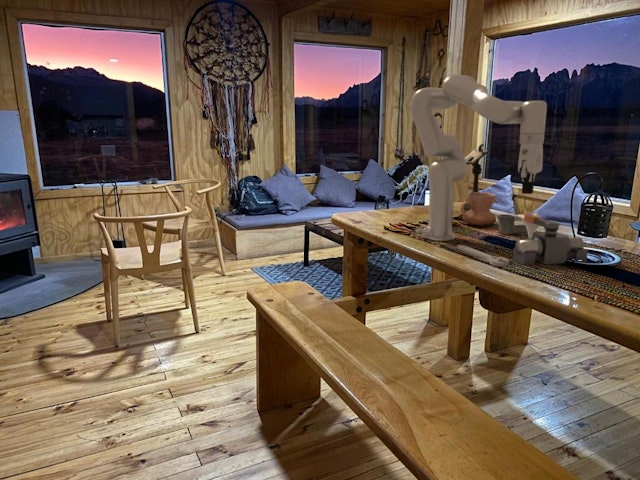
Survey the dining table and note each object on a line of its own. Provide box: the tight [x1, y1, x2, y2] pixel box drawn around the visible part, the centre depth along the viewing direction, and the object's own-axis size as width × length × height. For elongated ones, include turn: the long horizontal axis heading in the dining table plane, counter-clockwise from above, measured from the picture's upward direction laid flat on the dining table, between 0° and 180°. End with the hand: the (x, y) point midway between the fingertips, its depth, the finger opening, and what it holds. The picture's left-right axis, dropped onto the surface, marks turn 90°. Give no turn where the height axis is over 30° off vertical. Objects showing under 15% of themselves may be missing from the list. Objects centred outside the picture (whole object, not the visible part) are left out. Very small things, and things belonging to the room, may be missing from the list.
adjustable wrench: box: [457, 244, 510, 268], centre depth 171 cm, size 25×6×2 cm, turn 16°
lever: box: [524, 213, 560, 231], centre depth 168 cm, size 17×4×2 cm, turn 9°
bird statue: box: [464, 143, 489, 213], centre depth 241 cm, size 17×13×35 cm
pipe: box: [496, 213, 528, 236], centre depth 201 cm, size 6×13×8 cm, turn 78°
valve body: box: [512, 229, 589, 266], centre depth 164 cm, size 23×8×11 cm, turn 99°
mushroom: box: [517, 211, 542, 240], centre depth 188 cm, size 10×11×12 cm
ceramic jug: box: [460, 191, 500, 227], centre depth 217 cm, size 18×14×14 cm
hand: (527, 193), depth 166 cm, fingers closed
